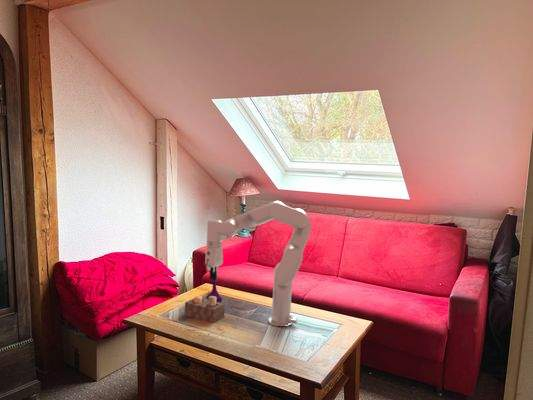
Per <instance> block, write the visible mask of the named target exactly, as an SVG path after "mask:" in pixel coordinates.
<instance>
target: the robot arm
mask: <svg viewBox="0 0 533 400" xmlns="http://www.w3.org/2000/svg"><path fill="white" fill-rule="evenodd" d="M274 220H275V221H276V222H280V223H282V224H284V225H288V226H290V227H293V232H292V234H291V236H290V239H288V242H287V244H286V246H285V247H284V249H283V256H282V258H281V260H280V262H279V263H277V264H276V265H275V267H274V269H273V289H272V303H271V305H272V306H271V316H270V317H269V318H268V320H267V321H268V323H269V324H270V325H271V326H274V325H275V326H274V327H278V326H285V325H288V323H291V322H292V324H298V318H297V317H293V314H292V313H291V310H292V309H291V308H292V293H293V292H292V291H293V281H294V280H295V277H296V275H297V273H298V271H299V269H300V268H301V265H302V262H303V259H304V254H303V253H304V250H305V247H306V245H307V243H308V240H309V238H310V235H311V231H312V226H311V225H312V224H311V220H310V217H309V215H308V214H307V213H306V211H304V210H303V209H302V208H292V207H291V206H288V205H285V204H284V203H283V202H282V201H280V200H274V201H271V202H269V203H266V204H264V205H261V206H259V207H257V208H254V209H251V210H249V211H246V212H244V213H242V214H241V213H240V214H239V215H235V216H233V217H231V218H228V219H227V220H225V221H222V220H219V219H210V220H208V221H207V227H206V228H207V229H206V231H207V232H206V250H205V260H204V265H205V267H206V270H207V271H208V272H209V279H210V280H215V279H216V280H218V279H217V278H218V276H217V272H218V269H219V267H220V266H222V265H223V263H224V254H223V253H224V252H223V247H222V242H223V241H222V240H223V239H222V238H223V237H222V236H225V237H231V236H233V235H235V234H236V232H238V231H240V230H241V231H242V230H243V229H245V228H249V227H256V226H257V227H258V226H261V225H262V224H266V223H268V222H270V221H271V222H272V221H274Z"/></svg>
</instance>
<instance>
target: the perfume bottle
mask: <svg viewBox="0 0 533 400" xmlns="http://www.w3.org/2000/svg"><path fill="white" fill-rule="evenodd" d="M218 276H219V273H217V277H218ZM218 282H219V281H218V279H215V280H212V279H210V283H211V284H212V289H211V291H210V292H209V293H208V294H207V295H206V297H205V299H207V300H209V297H210V296H215V297H217V298H216V302H219V303H222V301H223V298H222V296H221V295H220V293H219V292H218V289H217V283H218Z"/></svg>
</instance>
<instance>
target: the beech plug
mask: <svg viewBox="0 0 533 400" xmlns="http://www.w3.org/2000/svg"><path fill="white" fill-rule="evenodd" d="M216 298H217V297H215V296H210V297H209V303H208V306H210V307H215V306H216Z"/></svg>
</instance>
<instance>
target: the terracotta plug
mask: <svg viewBox="0 0 533 400" xmlns="http://www.w3.org/2000/svg"><path fill="white" fill-rule="evenodd" d="M193 299H194V303H198V304H200V303H202V299H203V297H202V296H200V295H196V296H194V297H193Z"/></svg>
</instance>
